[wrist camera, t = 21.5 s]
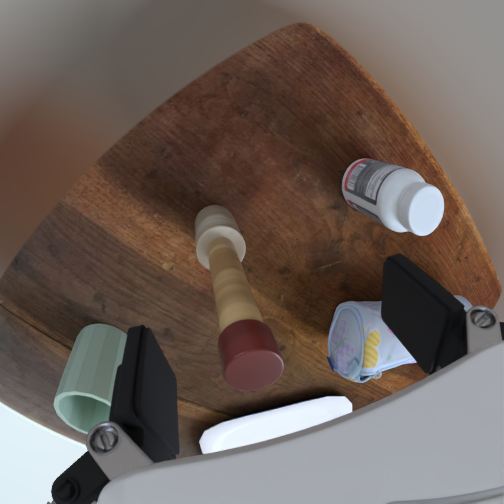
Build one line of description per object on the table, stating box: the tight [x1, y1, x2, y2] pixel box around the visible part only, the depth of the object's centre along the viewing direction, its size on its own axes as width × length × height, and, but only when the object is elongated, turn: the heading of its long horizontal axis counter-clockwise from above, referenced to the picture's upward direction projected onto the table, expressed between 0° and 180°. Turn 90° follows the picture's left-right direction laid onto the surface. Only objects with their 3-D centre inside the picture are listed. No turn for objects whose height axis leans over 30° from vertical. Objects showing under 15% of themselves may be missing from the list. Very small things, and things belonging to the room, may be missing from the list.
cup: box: [54, 324, 127, 434], centre depth 26 cm, size 7×7×10 cm
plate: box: [199, 396, 352, 454], centre depth 43 cm, size 25×25×2 cm
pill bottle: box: [342, 158, 444, 236], centre depth 24 cm, size 5×5×10 cm
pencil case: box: [327, 295, 472, 383], centre depth 32 cm, size 21×9×10 cm, turn 84°
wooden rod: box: [195, 205, 284, 391], centre depth 19 cm, size 4×4×18 cm
